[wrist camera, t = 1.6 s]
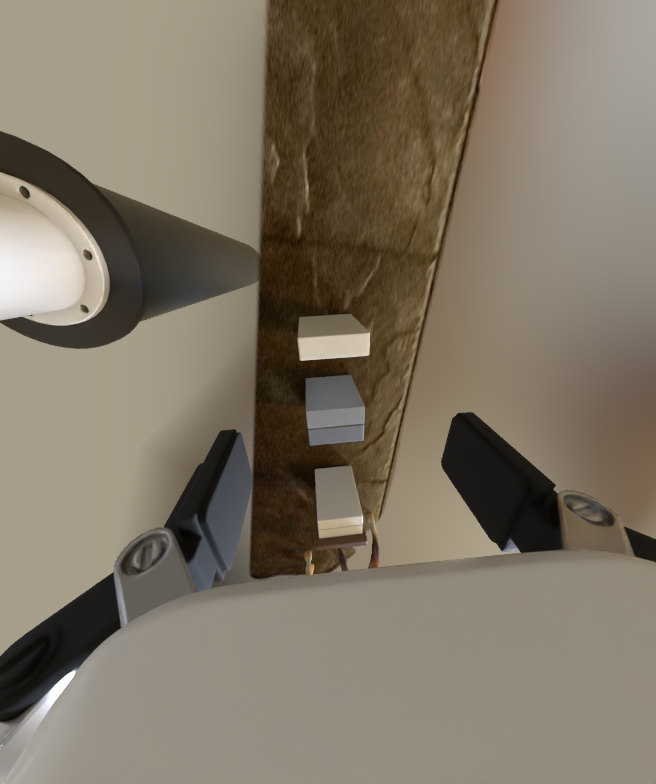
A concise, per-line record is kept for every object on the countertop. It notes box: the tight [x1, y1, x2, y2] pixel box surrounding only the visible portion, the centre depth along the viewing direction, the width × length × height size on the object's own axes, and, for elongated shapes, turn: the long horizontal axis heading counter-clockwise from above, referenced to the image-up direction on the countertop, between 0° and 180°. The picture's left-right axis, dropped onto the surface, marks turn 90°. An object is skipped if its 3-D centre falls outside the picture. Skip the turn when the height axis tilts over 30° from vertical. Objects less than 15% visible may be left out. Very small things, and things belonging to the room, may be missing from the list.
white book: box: [297, 314, 370, 361], centre depth 24 cm, size 6×2×9 cm, turn 93°
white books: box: [314, 465, 367, 551], centre depth 35 cm, size 7×5×10 cm
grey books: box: [306, 375, 365, 445], centre depth 28 cm, size 6×4×8 cm
